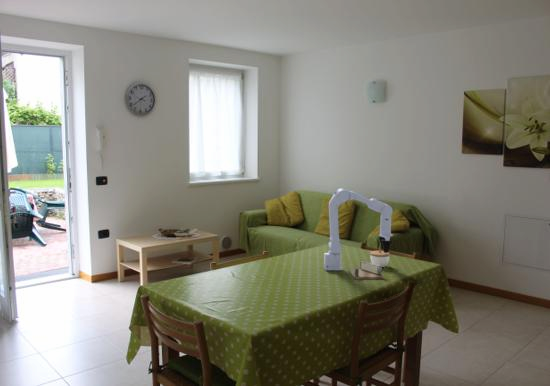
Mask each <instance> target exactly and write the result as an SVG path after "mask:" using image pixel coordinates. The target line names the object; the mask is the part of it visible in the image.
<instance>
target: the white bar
mask: <svg viewBox="0 0 550 386" xmlns="http://www.w3.org/2000/svg"><path fill="white" fill-rule="evenodd" d="M359 269H364V270H368V271H371V272H374V273H378V274H381V275H382V270H383V269H382V265H376V264H372V263H371V262H368V261H365V260H359Z"/></svg>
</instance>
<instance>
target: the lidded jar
mask: <svg viewBox="0 0 550 386" xmlns="http://www.w3.org/2000/svg"><path fill="white" fill-rule="evenodd" d="M369 255H370V256H369V257H370V263H372V264H376V265H382V267H384V268H386V266H387V265H388V264H389V261H390V251H389V252H388V253H384V250H382V249H378V250H371V251H370V252H369Z"/></svg>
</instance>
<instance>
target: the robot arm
mask: <svg viewBox="0 0 550 386" xmlns="http://www.w3.org/2000/svg"><path fill="white" fill-rule="evenodd" d="M352 200H356V201H358V202H361V203H363V204H365V205H366V206H367V208H368V209H370V210H373V211H374V212H377V213H380V220H379V221H380V223H379V224H380V225H379V236H378V239H379V242H380V248H381V249H380V250H381V251H384V253H388V252H389V253H390V248H391V244H392V243H393V240H392V239H391V237H393V236H394V234H392V214H393V213H394V210H393V207H392V206H390V205H389V204H387V203H386V202H384V201H383V202H382V201H380V200H378V198H376V197H375V198H373V197H372V198H370V199H369V198H368V197H365V196H363V195H361V194H359V193H357V192H355V191H352V190H350V189H349V190H348V189H345V188H343V187H341V188H338V189H336V191H334V192H333V194H332V195H331V198H330V199H329V202H328V215H329V216H328V217H329V218H328V219H329V220H328V221H329V241H328V244H327V245H328V248H329V250H328V251H327V252H324V254H323V269H324V271H343V267H342V250H343V249H342V248H343V246H342V244H341V243H340V242H341V240H340V232H339V230H340V229H339V211H338V210H339V209H338V208H339V207H340V205H342V204H344V203H345V202H347V201H352ZM390 239H391V240H390Z"/></svg>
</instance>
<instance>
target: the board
mask: <svg viewBox="0 0 550 386" xmlns="http://www.w3.org/2000/svg"><path fill="white" fill-rule="evenodd" d="M348 272H349V274H350V275H351V277H352V278H353V280H384V276H383V275H382V273H381V274H378V273H374V272H371V271H368V270H364V269H361V268H358V267H355V268H348Z"/></svg>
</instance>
